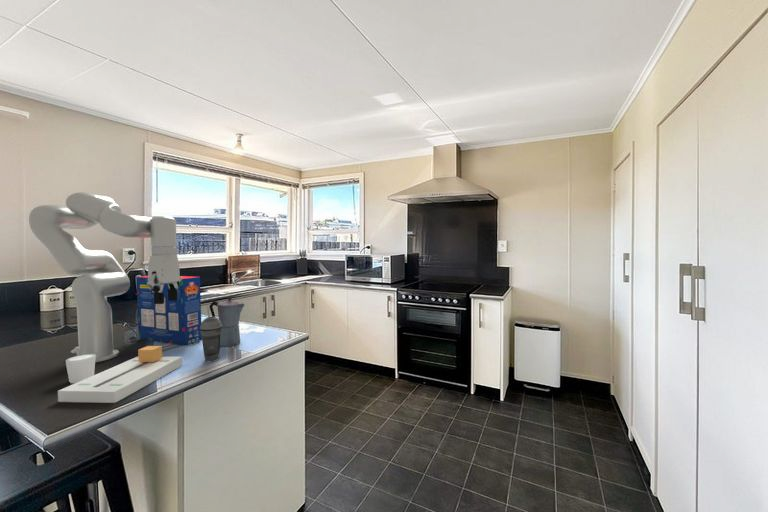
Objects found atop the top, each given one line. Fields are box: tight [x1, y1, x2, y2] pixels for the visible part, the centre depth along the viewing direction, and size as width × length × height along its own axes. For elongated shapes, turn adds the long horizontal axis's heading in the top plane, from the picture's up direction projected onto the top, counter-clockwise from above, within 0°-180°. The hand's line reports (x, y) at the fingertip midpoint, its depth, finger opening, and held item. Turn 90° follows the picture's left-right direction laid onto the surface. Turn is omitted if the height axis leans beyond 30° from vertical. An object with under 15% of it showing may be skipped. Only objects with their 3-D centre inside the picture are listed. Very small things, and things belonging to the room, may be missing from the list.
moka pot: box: [209, 296, 246, 347], centre depth 134 cm, size 10×15×20 cm, turn 89°
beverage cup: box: [200, 304, 222, 362], centre depth 116 cm, size 7×7×20 cm
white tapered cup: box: [65, 354, 96, 384], centre depth 100 cm, size 7×7×7 cm
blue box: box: [135, 275, 202, 347], centre depth 140 cm, size 28×8×28 cm, turn 71°
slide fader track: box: [57, 356, 183, 404], centre depth 98 cm, size 16×26×3 cm, turn 177°
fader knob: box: [137, 345, 163, 362], centre depth 107 cm, size 5×4×4 cm
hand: (166, 301), depth 114 cm, fingers open, 5 cm apart
